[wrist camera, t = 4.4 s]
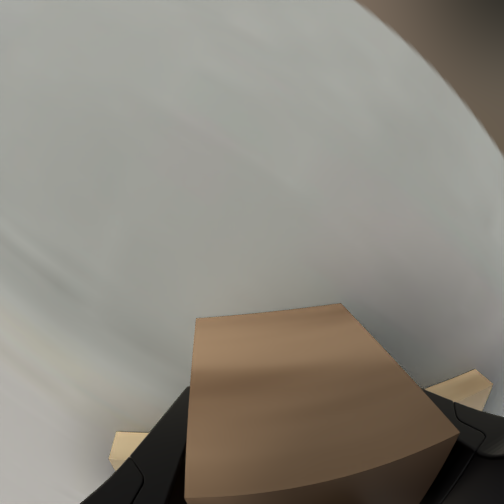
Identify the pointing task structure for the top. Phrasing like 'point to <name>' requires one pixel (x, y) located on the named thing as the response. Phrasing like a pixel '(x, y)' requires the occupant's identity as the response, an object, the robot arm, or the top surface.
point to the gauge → (306, 414)
